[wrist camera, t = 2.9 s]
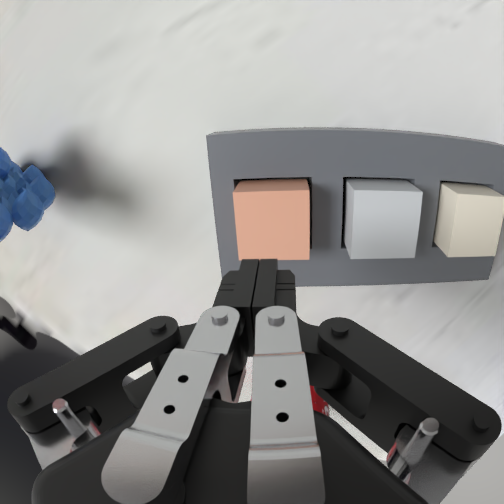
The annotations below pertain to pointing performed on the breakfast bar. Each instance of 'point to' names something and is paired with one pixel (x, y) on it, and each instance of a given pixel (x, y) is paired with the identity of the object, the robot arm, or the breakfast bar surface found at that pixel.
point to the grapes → (22, 195)
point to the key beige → (468, 220)
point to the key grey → (381, 218)
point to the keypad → (331, 194)
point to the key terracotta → (272, 219)
